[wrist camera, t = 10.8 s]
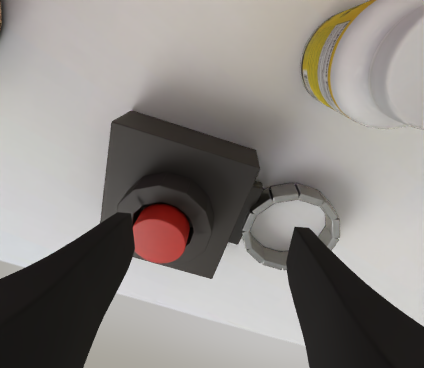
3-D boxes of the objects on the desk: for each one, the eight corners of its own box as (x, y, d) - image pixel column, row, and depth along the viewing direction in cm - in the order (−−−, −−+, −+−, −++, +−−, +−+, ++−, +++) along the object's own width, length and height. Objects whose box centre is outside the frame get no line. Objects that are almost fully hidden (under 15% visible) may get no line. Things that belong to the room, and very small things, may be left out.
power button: (195, 212, 17) (191, 228, 15) (182, 251, 18) (178, 269, 17) (142, 196, 17) (133, 211, 15) (134, 237, 18) (125, 254, 17)
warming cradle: (350, 199, 21) (359, 211, 20) (306, 264, 25) (311, 279, 23) (247, 167, 21) (249, 177, 19) (218, 238, 24) (217, 252, 23)
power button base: (256, 150, 20) (263, 182, 15) (214, 251, 25) (209, 299, 20) (131, 109, 19) (95, 130, 14) (114, 222, 24) (84, 265, 19)
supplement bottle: (403, 20, 15) (622, -21, 7) (362, 110, 18) (482, 166, 9) (315, 1, 15) (422, -65, 7) (287, 94, 18) (336, 136, 9)
